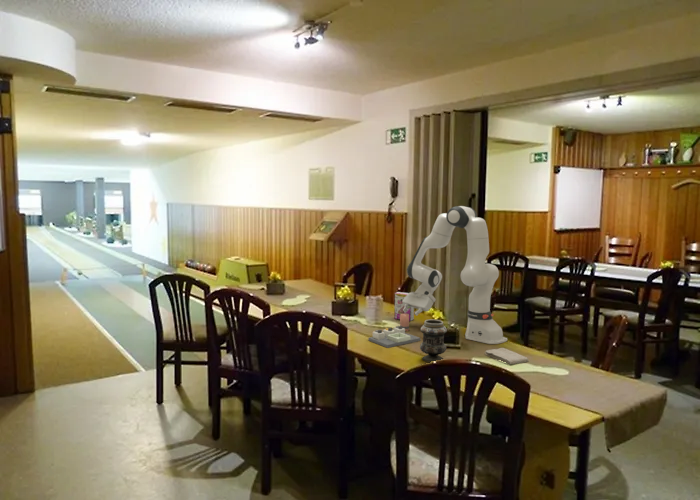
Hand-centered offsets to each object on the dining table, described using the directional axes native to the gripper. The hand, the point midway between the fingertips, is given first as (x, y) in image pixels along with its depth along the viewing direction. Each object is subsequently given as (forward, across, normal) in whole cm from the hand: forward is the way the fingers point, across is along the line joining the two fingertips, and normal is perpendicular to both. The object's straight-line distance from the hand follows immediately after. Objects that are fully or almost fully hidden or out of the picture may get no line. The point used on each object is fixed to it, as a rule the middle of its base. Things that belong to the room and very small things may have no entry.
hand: (409, 313), depth 285 cm
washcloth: (+5, +65, +8) cm, 66 cm away
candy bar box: (-2, -19, +15) cm, 24 cm away
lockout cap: (+10, 0, +4) cm, 10 cm away
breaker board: (+22, +14, -9) cm, 27 cm away
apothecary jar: (+25, +48, -13) cm, 55 cm away
